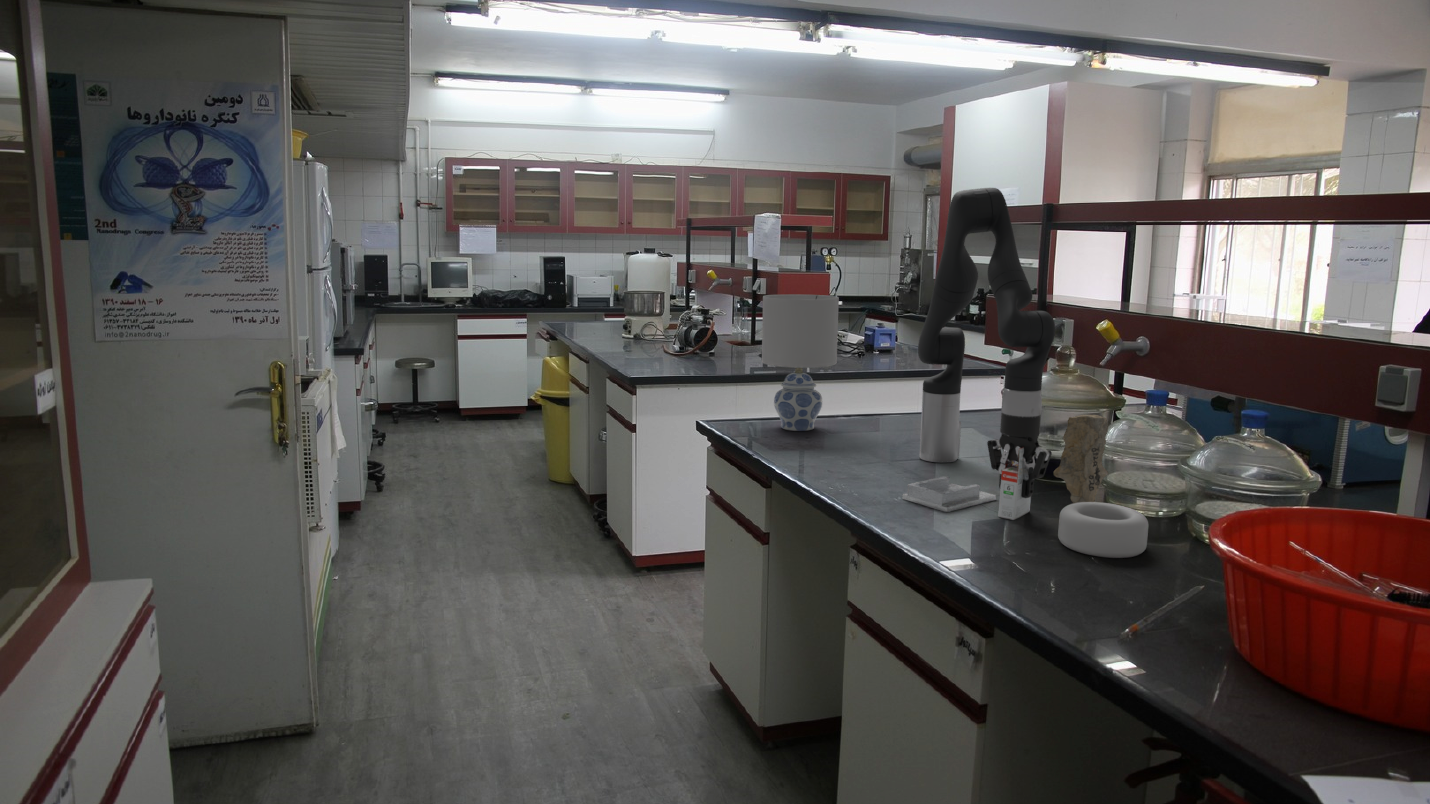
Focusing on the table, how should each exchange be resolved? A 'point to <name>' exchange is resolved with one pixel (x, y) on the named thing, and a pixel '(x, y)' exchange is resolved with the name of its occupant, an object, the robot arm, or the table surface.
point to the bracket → (945, 494)
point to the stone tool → (1083, 456)
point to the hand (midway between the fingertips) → (1015, 494)
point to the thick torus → (1103, 529)
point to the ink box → (1013, 491)
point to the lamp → (799, 351)
